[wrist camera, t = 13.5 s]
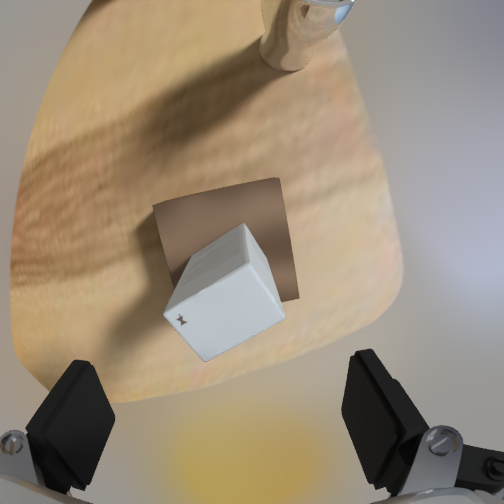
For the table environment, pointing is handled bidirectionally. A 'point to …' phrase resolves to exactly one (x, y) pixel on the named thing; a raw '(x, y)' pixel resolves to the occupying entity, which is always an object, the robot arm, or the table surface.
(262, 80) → the table surface
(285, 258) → the walnut block
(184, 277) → the skincare box
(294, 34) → the beer glass
